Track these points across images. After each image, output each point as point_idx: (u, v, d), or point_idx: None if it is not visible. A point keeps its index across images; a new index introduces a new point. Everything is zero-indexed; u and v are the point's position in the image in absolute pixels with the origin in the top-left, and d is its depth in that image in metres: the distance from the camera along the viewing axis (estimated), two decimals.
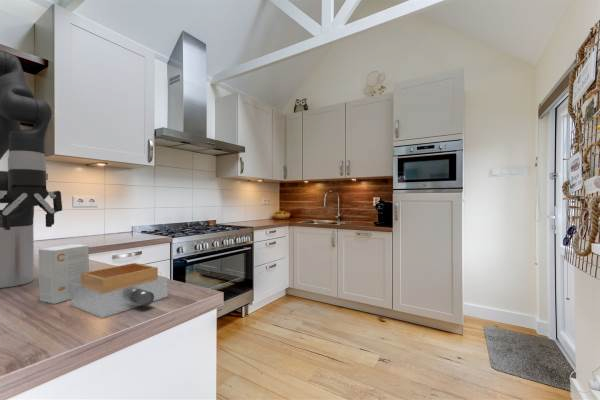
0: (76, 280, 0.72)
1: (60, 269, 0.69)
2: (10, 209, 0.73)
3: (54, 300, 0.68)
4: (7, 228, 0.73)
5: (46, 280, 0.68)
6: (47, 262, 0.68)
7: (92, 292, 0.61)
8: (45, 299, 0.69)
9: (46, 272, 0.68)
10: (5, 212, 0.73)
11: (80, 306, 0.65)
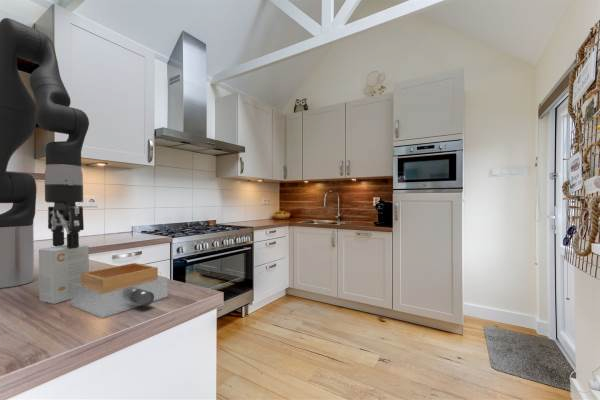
0: (76, 280, 0.72)
1: (60, 269, 0.69)
2: None
3: (54, 300, 0.68)
4: None
5: (46, 280, 0.68)
6: (47, 262, 0.68)
7: (92, 292, 0.61)
8: (45, 299, 0.69)
9: (46, 272, 0.68)
10: None
11: (80, 306, 0.65)
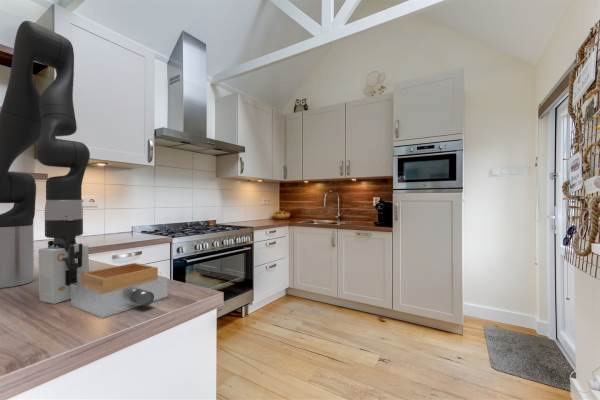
0: None
1: (60, 269, 0.69)
2: None
3: (54, 300, 0.67)
4: None
5: (46, 279, 0.68)
6: (47, 262, 0.68)
7: (92, 292, 0.61)
8: (45, 299, 0.69)
9: (46, 272, 0.68)
10: None
11: (80, 306, 0.65)
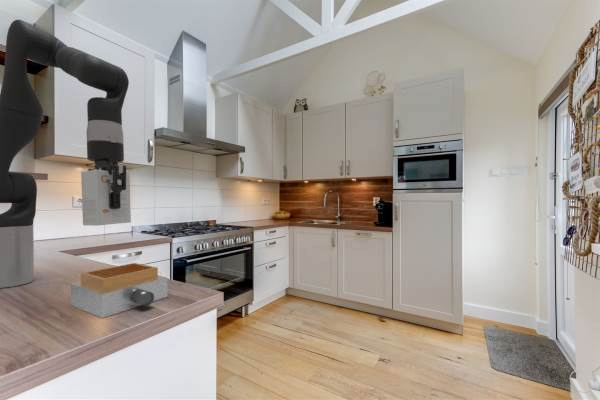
0: None
1: (104, 191, 0.66)
2: None
3: (99, 222, 0.65)
4: None
5: (90, 202, 0.66)
6: (90, 183, 0.66)
7: (92, 292, 0.61)
8: (89, 222, 0.66)
9: (90, 194, 0.66)
10: None
11: (80, 306, 0.65)
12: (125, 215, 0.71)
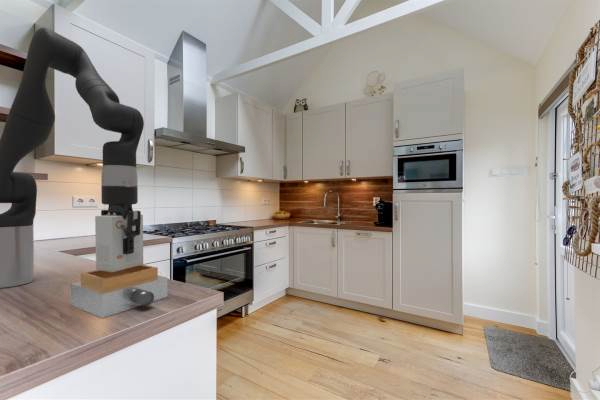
0: None
1: (118, 237, 0.66)
2: None
3: (113, 268, 0.65)
4: None
5: (104, 247, 0.66)
6: (105, 229, 0.66)
7: (92, 292, 0.61)
8: (103, 267, 0.66)
9: (104, 239, 0.66)
10: None
11: (80, 306, 0.65)
12: (137, 258, 0.71)
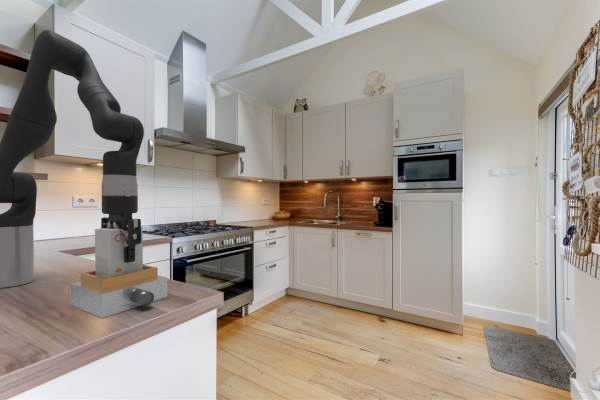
0: (131, 262, 0.69)
1: (117, 250, 0.66)
2: None
3: None
4: None
5: (103, 261, 0.66)
6: (104, 242, 0.66)
7: (92, 292, 0.61)
8: None
9: (103, 253, 0.66)
10: None
11: (80, 306, 0.65)
12: None
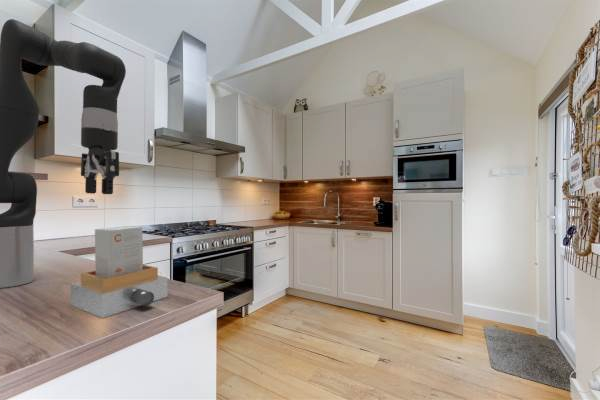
0: (131, 262, 0.69)
1: (117, 250, 0.66)
2: None
3: None
4: None
5: (103, 261, 0.66)
6: (104, 242, 0.66)
7: (92, 292, 0.61)
8: None
9: (103, 253, 0.66)
10: None
11: (80, 306, 0.65)
12: None
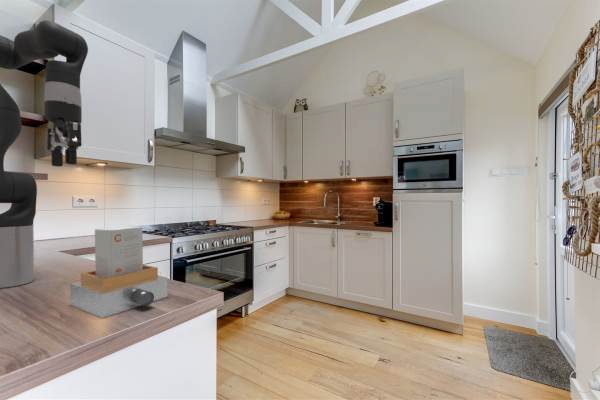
0: (131, 262, 0.69)
1: (117, 250, 0.66)
2: None
3: None
4: None
5: (103, 261, 0.66)
6: (104, 242, 0.66)
7: (92, 292, 0.61)
8: None
9: (103, 253, 0.66)
10: (77, 147, 0.73)
11: (80, 306, 0.65)
12: None
